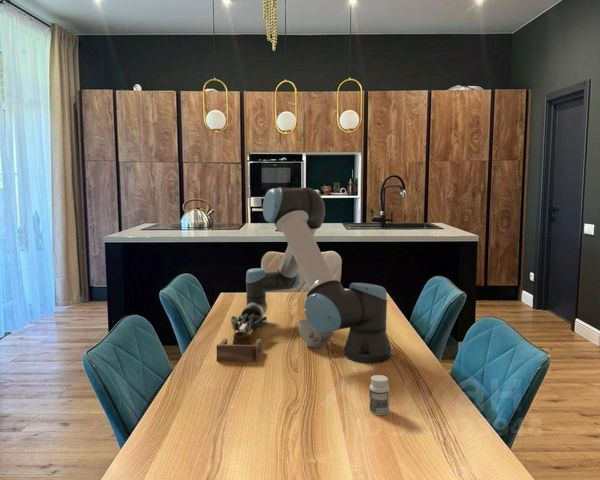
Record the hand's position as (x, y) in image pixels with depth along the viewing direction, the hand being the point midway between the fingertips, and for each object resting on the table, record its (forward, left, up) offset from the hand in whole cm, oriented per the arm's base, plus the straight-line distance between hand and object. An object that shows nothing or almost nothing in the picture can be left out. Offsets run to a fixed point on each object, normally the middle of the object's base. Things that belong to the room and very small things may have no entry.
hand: (241, 333), depth 167 cm
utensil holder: (-3, +1, -7) cm, 7 cm away
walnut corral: (-3, +2, -6) cm, 7 cm away
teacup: (-6, -26, -7) cm, 27 cm away
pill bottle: (-58, -11, -7) cm, 59 cm away
